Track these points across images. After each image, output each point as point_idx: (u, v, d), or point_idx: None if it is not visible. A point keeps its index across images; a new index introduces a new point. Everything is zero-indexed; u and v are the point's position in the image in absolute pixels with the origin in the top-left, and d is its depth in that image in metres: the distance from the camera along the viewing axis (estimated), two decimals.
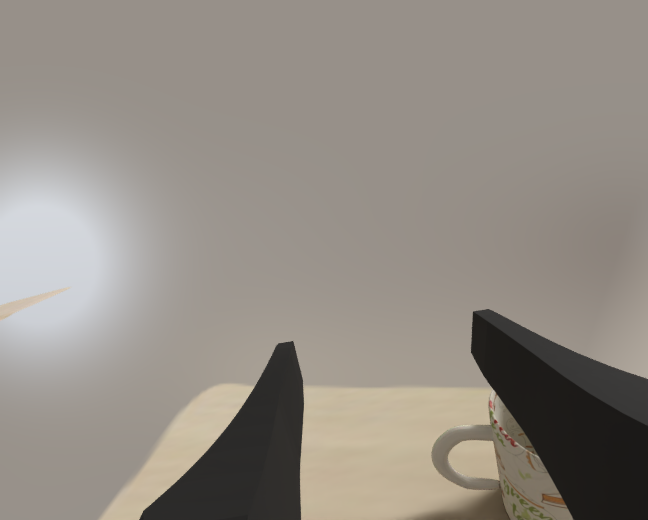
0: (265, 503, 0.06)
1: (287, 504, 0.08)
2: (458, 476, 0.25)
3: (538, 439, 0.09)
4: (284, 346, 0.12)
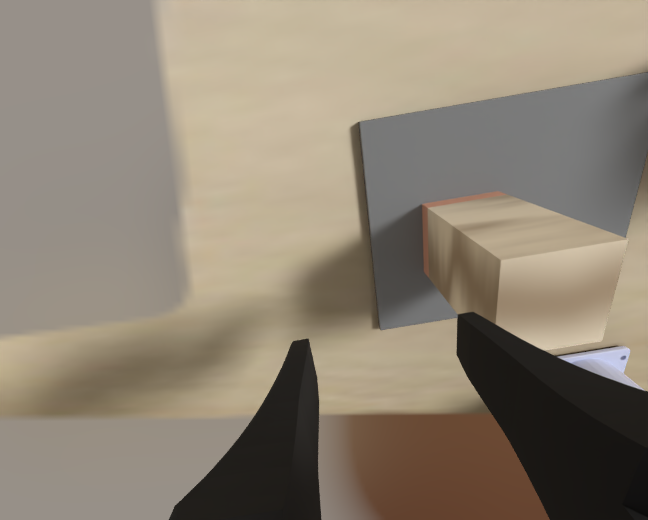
0: (295, 498, 0.06)
1: (310, 500, 0.08)
2: None
3: (518, 442, 0.09)
4: (300, 343, 0.12)
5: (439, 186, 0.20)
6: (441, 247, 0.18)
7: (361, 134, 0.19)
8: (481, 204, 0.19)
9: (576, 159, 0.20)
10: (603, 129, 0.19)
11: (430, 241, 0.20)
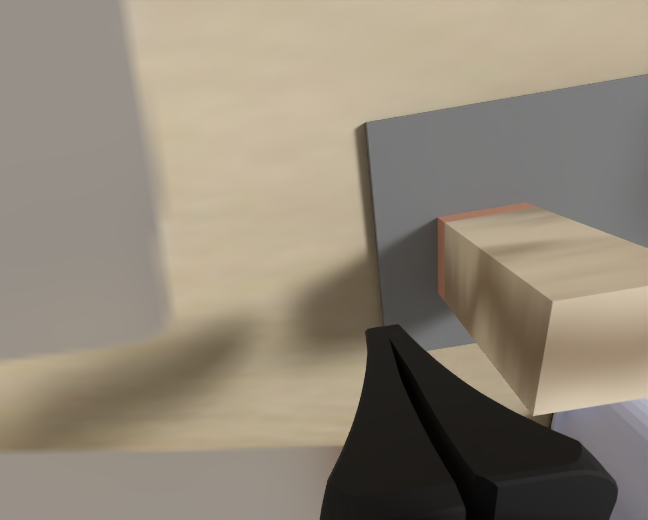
0: None
1: None
2: None
3: None
4: (377, 331, 0.12)
5: (458, 197, 0.17)
6: (462, 269, 0.16)
7: (368, 137, 0.16)
8: (509, 219, 0.16)
9: (617, 166, 0.17)
10: None
11: (447, 261, 0.17)
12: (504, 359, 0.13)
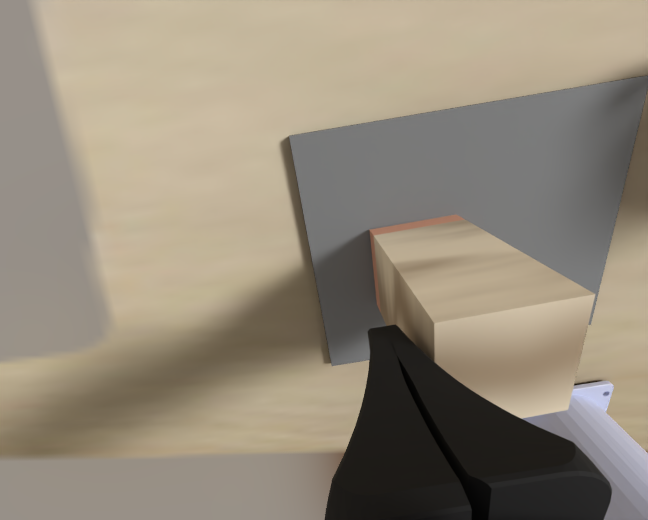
0: None
1: None
2: None
3: None
4: (379, 330, 0.12)
5: (387, 209, 0.17)
6: (386, 283, 0.15)
7: (292, 150, 0.16)
8: (433, 232, 0.16)
9: (545, 178, 0.17)
10: (575, 144, 0.17)
11: (378, 273, 0.17)
12: None
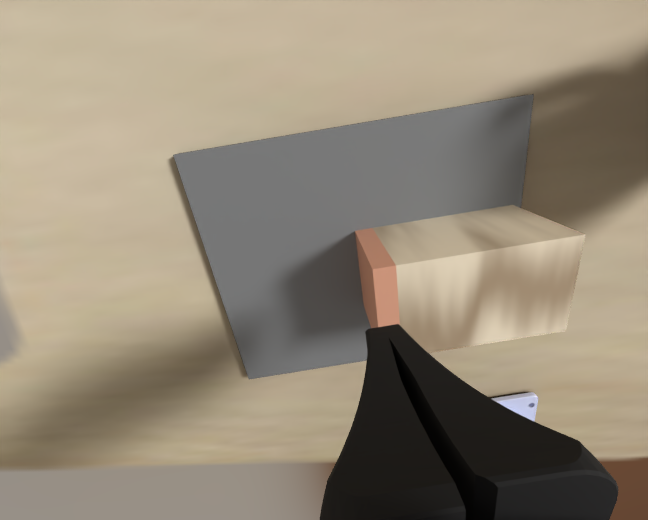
0: None
1: None
2: None
3: None
4: (377, 331, 0.12)
5: (284, 226, 0.17)
6: (447, 293, 0.14)
7: (179, 168, 0.16)
8: (402, 238, 0.16)
9: (440, 195, 0.17)
10: (466, 162, 0.17)
11: (408, 306, 0.14)
12: (528, 320, 0.15)
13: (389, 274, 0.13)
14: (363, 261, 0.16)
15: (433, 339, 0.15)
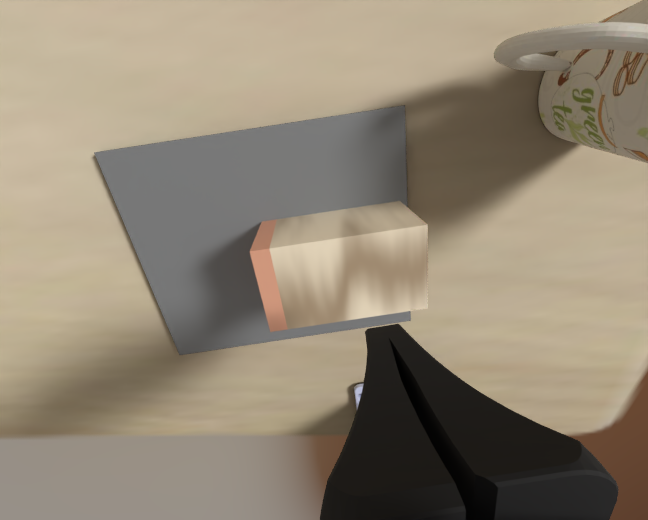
0: None
1: None
2: (519, 61, 0.15)
3: None
4: (377, 331, 0.12)
5: (198, 216, 0.20)
6: (317, 273, 0.16)
7: (100, 164, 0.18)
8: (292, 227, 0.18)
9: (334, 191, 0.20)
10: (353, 163, 0.19)
11: (285, 283, 0.17)
12: (393, 298, 0.17)
13: (264, 256, 0.16)
14: None
15: (312, 313, 0.17)
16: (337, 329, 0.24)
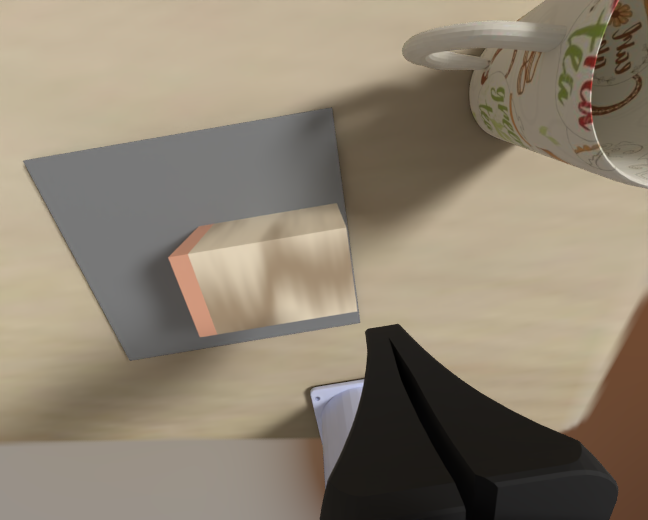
0: None
1: None
2: (433, 60, 0.15)
3: None
4: (377, 331, 0.12)
5: (134, 222, 0.20)
6: (240, 278, 0.16)
7: (31, 172, 0.18)
8: (222, 232, 0.18)
9: (269, 195, 0.20)
10: (286, 166, 0.19)
11: (208, 289, 0.16)
12: (321, 302, 0.17)
13: (184, 261, 0.16)
14: None
15: (240, 318, 0.17)
16: (286, 333, 0.24)
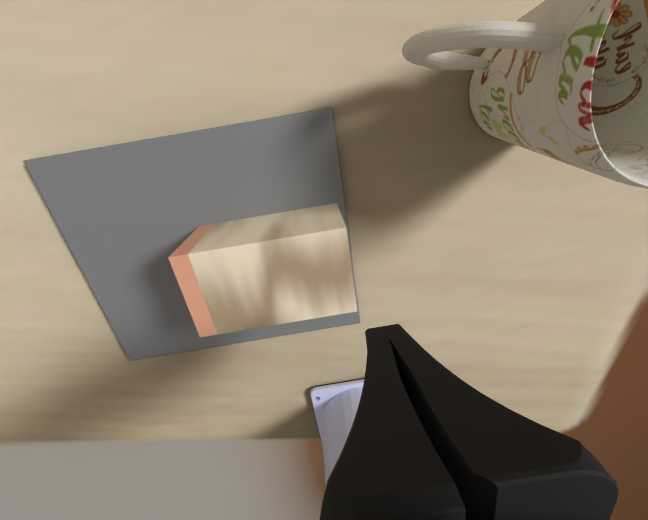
0: None
1: None
2: (433, 60, 0.15)
3: None
4: (377, 331, 0.12)
5: (134, 222, 0.20)
6: (240, 278, 0.16)
7: (31, 172, 0.18)
8: (222, 232, 0.18)
9: (269, 195, 0.20)
10: (286, 166, 0.19)
11: (208, 289, 0.16)
12: (321, 302, 0.17)
13: (184, 261, 0.16)
14: None
15: (240, 318, 0.17)
16: (286, 333, 0.24)
